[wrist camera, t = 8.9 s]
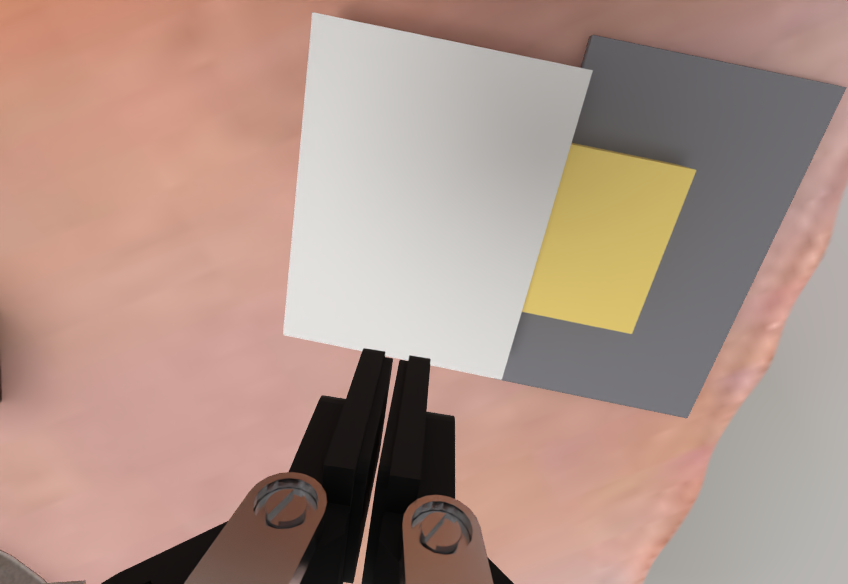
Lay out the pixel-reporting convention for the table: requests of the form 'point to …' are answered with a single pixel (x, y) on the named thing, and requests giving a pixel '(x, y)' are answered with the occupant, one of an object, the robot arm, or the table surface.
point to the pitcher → (16, 571)
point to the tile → (606, 237)
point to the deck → (423, 192)
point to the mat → (682, 216)
